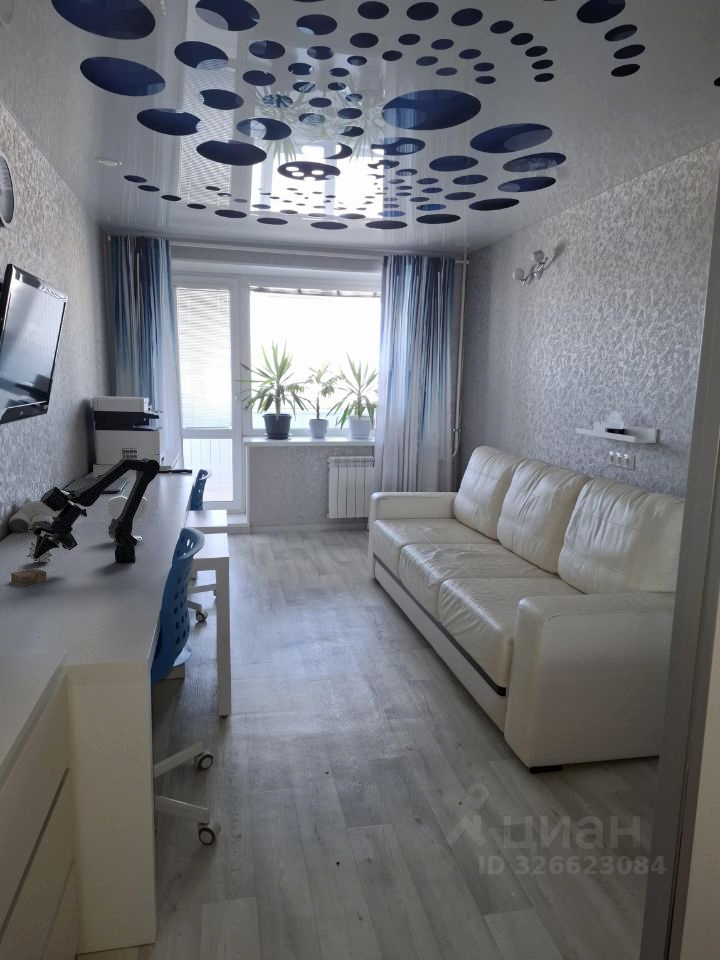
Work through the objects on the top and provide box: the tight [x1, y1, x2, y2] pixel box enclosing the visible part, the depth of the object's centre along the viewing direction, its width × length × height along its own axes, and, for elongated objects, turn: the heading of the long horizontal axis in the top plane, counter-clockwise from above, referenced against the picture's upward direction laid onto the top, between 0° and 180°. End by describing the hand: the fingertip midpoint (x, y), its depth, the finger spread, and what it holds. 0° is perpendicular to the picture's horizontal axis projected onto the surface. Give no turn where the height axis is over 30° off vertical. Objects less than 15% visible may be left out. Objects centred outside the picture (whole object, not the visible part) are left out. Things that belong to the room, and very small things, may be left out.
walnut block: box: [10, 567, 47, 587], centre depth 211 cm, size 3×7×8 cm
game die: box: [26, 542, 53, 565], centre depth 231 cm, size 9×8×10 cm
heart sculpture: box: [106, 495, 148, 540], centre depth 267 cm, size 16×5×18 cm, turn 107°
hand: (34, 558), depth 212 cm, fingers closed
